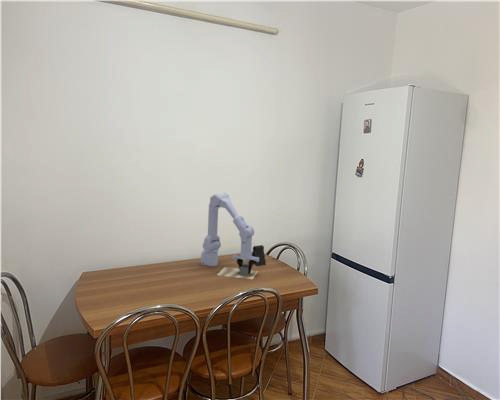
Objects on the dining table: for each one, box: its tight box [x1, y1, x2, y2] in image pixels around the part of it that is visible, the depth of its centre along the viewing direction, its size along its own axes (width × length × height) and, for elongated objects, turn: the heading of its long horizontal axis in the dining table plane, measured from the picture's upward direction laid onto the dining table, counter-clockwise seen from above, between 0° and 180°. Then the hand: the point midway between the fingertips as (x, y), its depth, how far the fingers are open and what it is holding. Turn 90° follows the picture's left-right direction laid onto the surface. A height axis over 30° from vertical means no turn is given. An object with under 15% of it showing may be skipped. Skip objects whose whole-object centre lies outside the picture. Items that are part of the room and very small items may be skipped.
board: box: [216, 266, 259, 280], centre depth 202 cm, size 20×14×1 cm
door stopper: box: [251, 244, 267, 267], centre depth 219 cm, size 9×6×12 cm, turn 33°
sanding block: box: [239, 262, 249, 276], centre depth 201 cm, size 4×8×4 cm, turn 167°
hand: (245, 272), depth 201 cm, fingers closed on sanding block, 4 cm apart
